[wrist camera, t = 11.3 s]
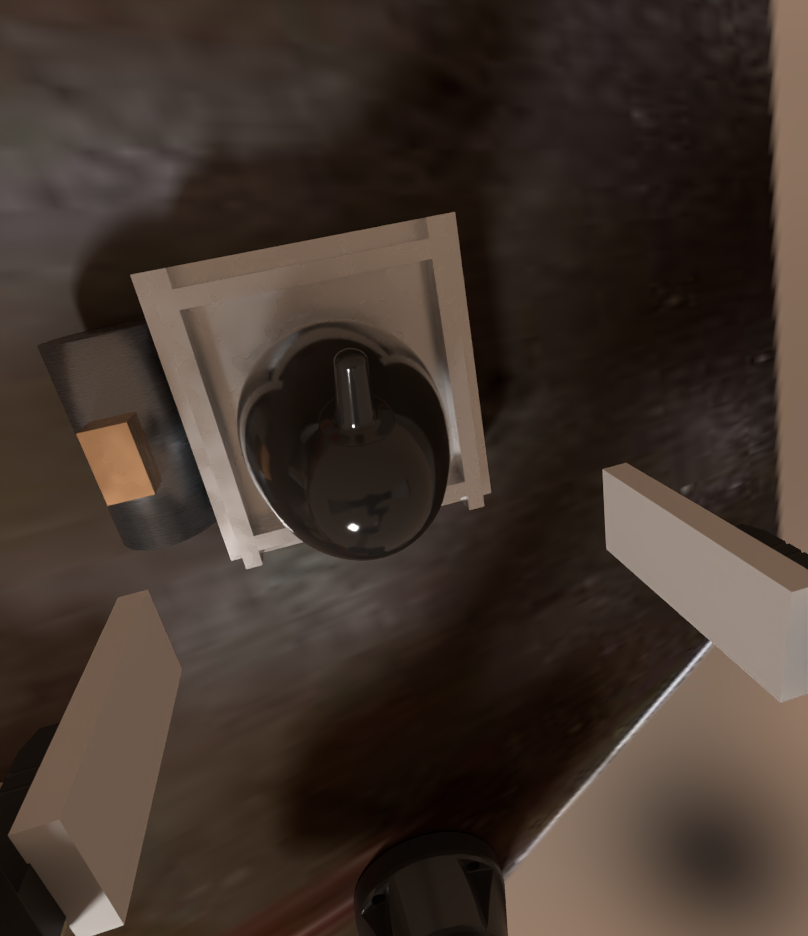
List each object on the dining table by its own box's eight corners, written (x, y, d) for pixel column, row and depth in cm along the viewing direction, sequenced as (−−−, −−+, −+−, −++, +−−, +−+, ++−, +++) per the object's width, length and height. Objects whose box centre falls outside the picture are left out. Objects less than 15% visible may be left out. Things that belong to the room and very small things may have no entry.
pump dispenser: (410, 294, 31) (517, 332, 17) (427, 467, 35) (525, 609, 21) (222, 319, 30) (174, 383, 16) (262, 496, 34) (252, 672, 20)
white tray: (467, 465, 41) (508, 512, 34) (148, 546, 38) (119, 616, 31) (431, 216, 35) (473, 208, 27) (42, 291, 32) (-28, 305, 24)
